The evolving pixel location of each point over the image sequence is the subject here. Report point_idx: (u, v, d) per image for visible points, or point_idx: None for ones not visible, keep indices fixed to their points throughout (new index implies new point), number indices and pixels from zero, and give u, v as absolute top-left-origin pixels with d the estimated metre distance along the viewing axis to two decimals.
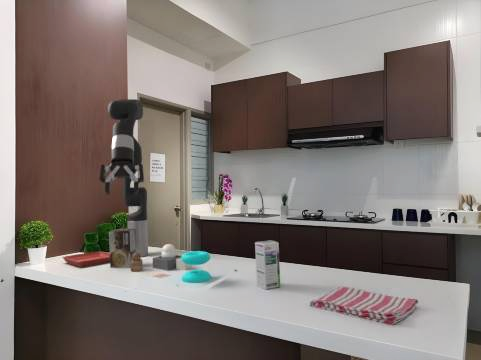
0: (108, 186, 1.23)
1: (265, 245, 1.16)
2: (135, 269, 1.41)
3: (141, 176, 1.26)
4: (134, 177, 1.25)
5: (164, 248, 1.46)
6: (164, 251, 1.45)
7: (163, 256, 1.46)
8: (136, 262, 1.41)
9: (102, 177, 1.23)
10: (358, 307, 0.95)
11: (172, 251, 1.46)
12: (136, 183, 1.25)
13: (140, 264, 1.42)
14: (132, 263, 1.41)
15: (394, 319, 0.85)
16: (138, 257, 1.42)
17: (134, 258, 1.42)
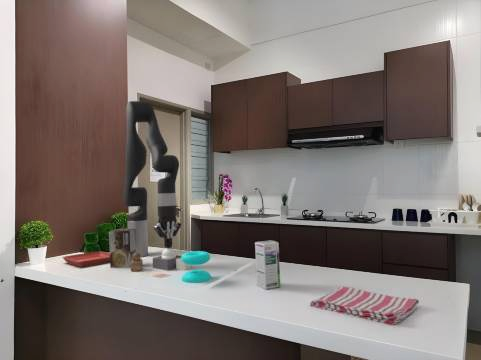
0: (169, 242, 1.47)
1: (265, 245, 1.16)
2: (135, 269, 1.41)
3: (174, 233, 1.49)
4: (171, 234, 1.48)
5: (164, 252, 1.46)
6: (164, 255, 1.45)
7: None
8: (136, 262, 1.41)
9: (164, 234, 1.45)
10: (359, 307, 0.95)
11: (172, 255, 1.46)
12: (170, 239, 1.48)
13: (140, 264, 1.42)
14: (132, 263, 1.41)
15: (395, 319, 0.85)
16: (138, 257, 1.42)
17: (134, 258, 1.42)
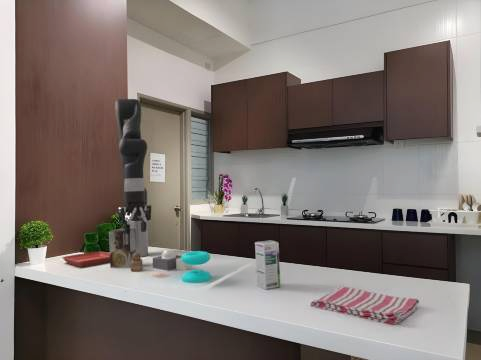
0: (129, 227, 1.40)
1: (265, 245, 1.16)
2: (135, 269, 1.41)
3: (149, 217, 1.47)
4: (144, 218, 1.45)
5: (164, 253, 1.46)
6: (164, 256, 1.45)
7: None
8: (136, 262, 1.41)
9: (124, 219, 1.38)
10: (359, 307, 0.95)
11: (172, 256, 1.46)
12: None
13: (140, 264, 1.42)
14: (132, 263, 1.41)
15: (395, 319, 0.85)
16: (138, 257, 1.42)
17: (134, 258, 1.42)
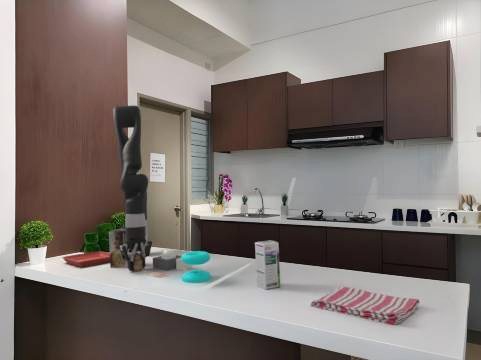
0: (132, 264, 1.40)
1: (265, 245, 1.16)
2: (135, 269, 1.41)
3: (148, 253, 1.46)
4: (144, 254, 1.44)
5: (164, 253, 1.46)
6: (164, 256, 1.45)
7: None
8: (136, 262, 1.41)
9: (127, 257, 1.39)
10: (359, 307, 0.95)
11: (172, 256, 1.46)
12: (144, 259, 1.45)
13: (140, 264, 1.42)
14: None
15: (396, 319, 0.85)
16: (138, 257, 1.42)
17: (134, 258, 1.42)
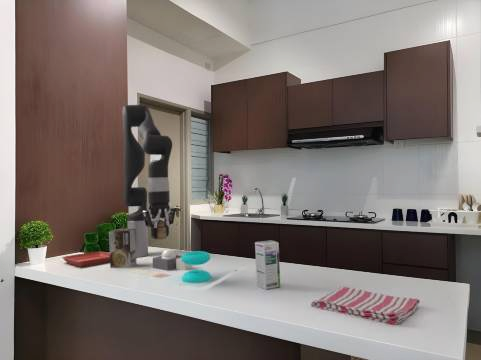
0: (156, 231, 1.31)
1: (265, 245, 1.16)
2: (159, 237, 1.31)
3: (171, 220, 1.36)
4: (167, 221, 1.35)
5: (164, 253, 1.46)
6: (164, 256, 1.45)
7: None
8: (160, 229, 1.32)
9: (151, 223, 1.29)
10: (360, 307, 0.95)
11: (172, 256, 1.46)
12: None
13: (164, 231, 1.32)
14: None
15: (397, 319, 0.85)
16: (162, 224, 1.33)
17: (158, 225, 1.32)
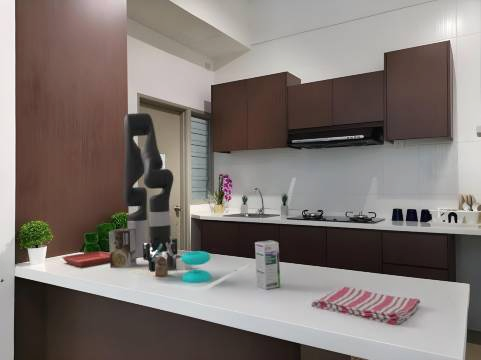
0: (154, 265, 1.30)
1: (265, 245, 1.16)
2: (161, 275, 1.31)
3: (176, 251, 1.38)
4: (171, 253, 1.36)
5: (164, 253, 1.46)
6: (164, 256, 1.45)
7: None
8: (161, 267, 1.31)
9: (149, 256, 1.28)
10: (360, 307, 0.95)
11: None
12: (171, 258, 1.37)
13: (165, 269, 1.32)
14: (157, 268, 1.32)
15: (397, 319, 0.85)
16: (163, 261, 1.33)
17: (159, 262, 1.32)
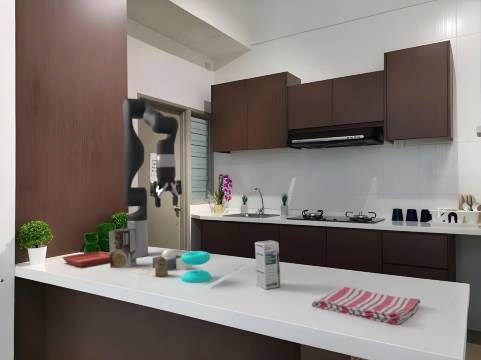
0: (159, 201, 1.44)
1: (265, 245, 1.16)
2: (161, 275, 1.31)
3: (180, 191, 1.52)
4: (176, 192, 1.50)
5: (164, 253, 1.46)
6: (164, 256, 1.45)
7: None
8: (161, 267, 1.31)
9: (155, 193, 1.42)
10: (361, 307, 0.95)
11: (172, 256, 1.46)
12: (176, 197, 1.51)
13: (165, 269, 1.32)
14: (157, 268, 1.32)
15: (398, 319, 0.85)
16: (163, 261, 1.33)
17: (159, 262, 1.32)
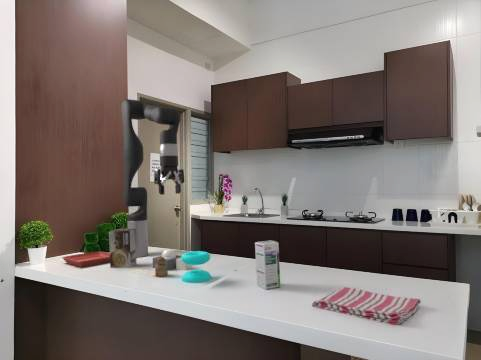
0: (163, 188, 1.50)
1: (265, 245, 1.16)
2: (161, 275, 1.31)
3: (183, 180, 1.59)
4: (179, 181, 1.57)
5: (164, 253, 1.46)
6: (164, 256, 1.45)
7: None
8: (161, 267, 1.31)
9: (159, 180, 1.49)
10: (361, 307, 0.95)
11: (172, 256, 1.46)
12: None
13: (165, 269, 1.32)
14: (157, 268, 1.32)
15: (398, 319, 0.84)
16: (163, 261, 1.33)
17: (159, 262, 1.32)
